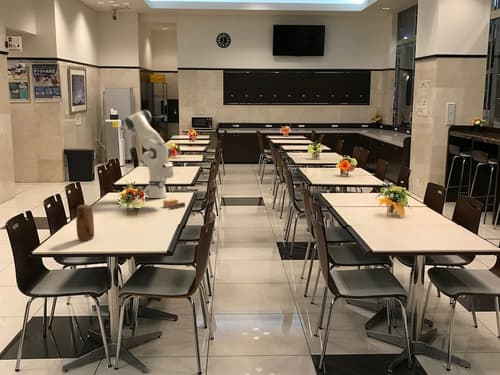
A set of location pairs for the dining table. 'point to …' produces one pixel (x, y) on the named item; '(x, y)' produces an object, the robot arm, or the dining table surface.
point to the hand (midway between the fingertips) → (163, 182)
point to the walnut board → (177, 205)
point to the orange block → (169, 202)
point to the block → (85, 222)
